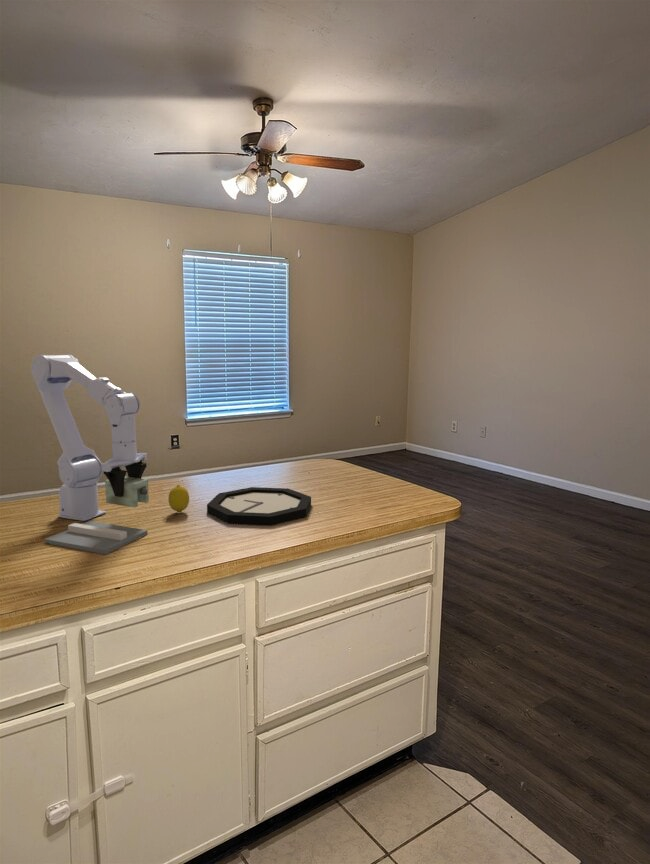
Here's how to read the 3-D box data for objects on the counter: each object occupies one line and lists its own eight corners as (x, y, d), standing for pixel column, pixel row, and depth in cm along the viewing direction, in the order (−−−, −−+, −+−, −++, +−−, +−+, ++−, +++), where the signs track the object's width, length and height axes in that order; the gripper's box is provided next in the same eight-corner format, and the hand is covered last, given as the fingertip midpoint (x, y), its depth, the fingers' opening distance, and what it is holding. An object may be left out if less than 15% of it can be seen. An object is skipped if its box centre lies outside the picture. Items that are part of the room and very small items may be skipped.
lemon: (168, 510, 149) (167, 483, 148) (188, 509, 151) (187, 481, 150) (169, 516, 144) (168, 488, 143) (190, 514, 146) (189, 486, 145)
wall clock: (331, 495, 158) (276, 524, 132) (331, 504, 158) (276, 535, 132) (248, 482, 172) (183, 506, 145) (248, 491, 172) (184, 516, 146)
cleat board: (44, 543, 124) (44, 532, 124) (90, 524, 137) (89, 515, 137) (105, 554, 118) (105, 543, 118) (147, 534, 131) (147, 524, 130)
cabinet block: (106, 503, 136) (105, 480, 135) (120, 497, 140) (119, 475, 139) (139, 508, 132) (138, 484, 131) (152, 502, 137) (151, 479, 136)
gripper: (116, 447, 126) (119, 502, 128) (155, 437, 139) (157, 487, 141) (93, 445, 128) (96, 499, 130) (133, 435, 142) (136, 485, 144)
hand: (126, 493), depth 136 cm, fingers closed on cabinet block, 5 cm apart
